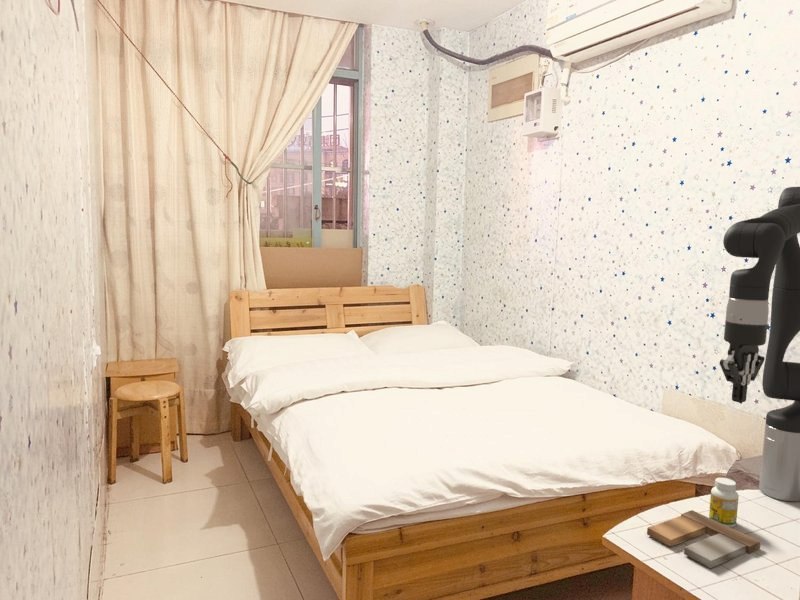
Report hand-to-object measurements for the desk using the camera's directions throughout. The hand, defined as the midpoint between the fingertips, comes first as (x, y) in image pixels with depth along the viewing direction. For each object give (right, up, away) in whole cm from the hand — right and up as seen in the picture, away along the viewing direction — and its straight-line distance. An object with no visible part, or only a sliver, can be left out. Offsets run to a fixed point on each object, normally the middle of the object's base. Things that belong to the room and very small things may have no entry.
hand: (738, 401), depth 122 cm
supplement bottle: (+1, -29, +7) cm, 29 cm away
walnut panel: (-3, -29, +2) cm, 29 cm away
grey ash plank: (-8, -30, -6) cm, 31 cm away
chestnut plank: (-12, -29, +2) cm, 31 cm away
